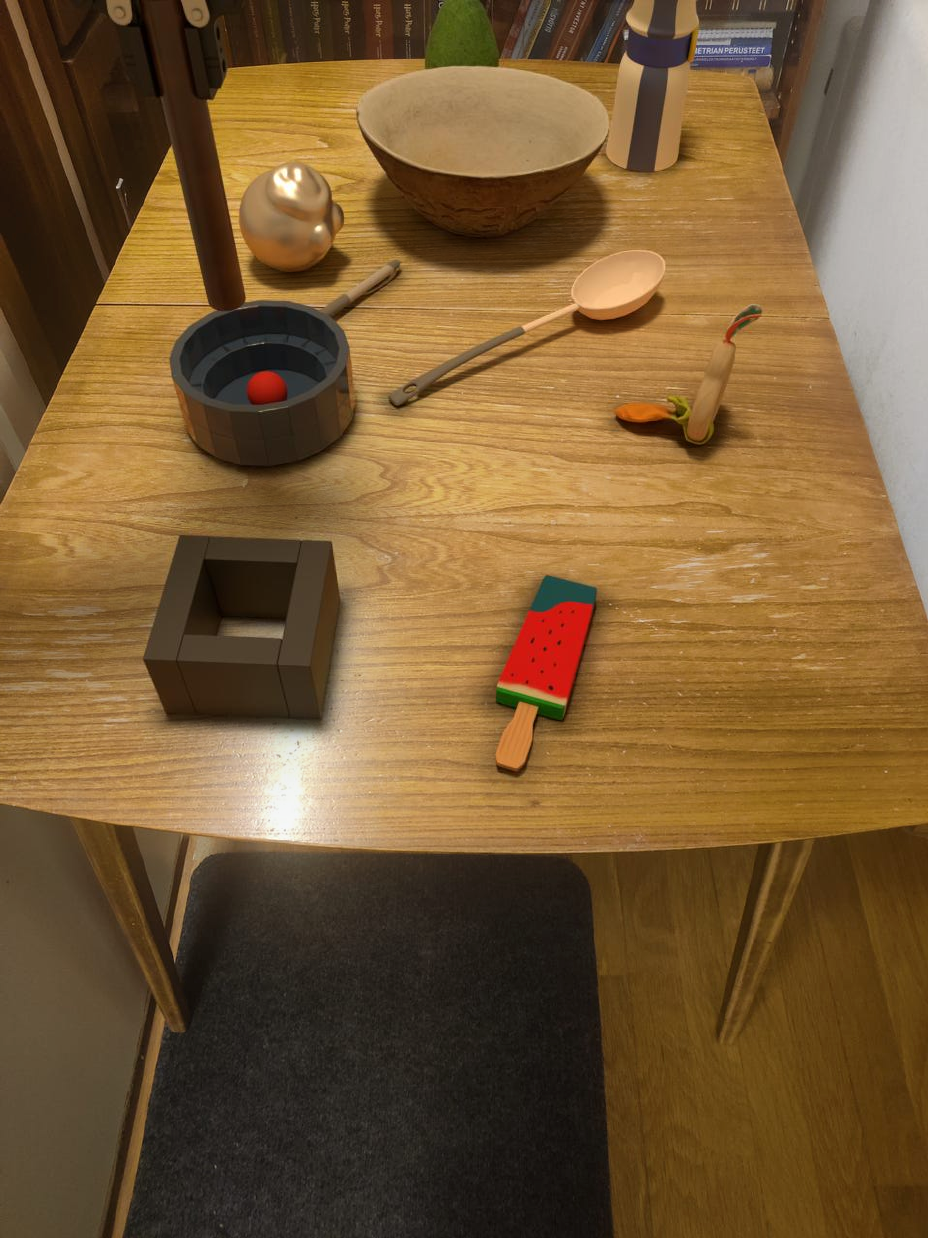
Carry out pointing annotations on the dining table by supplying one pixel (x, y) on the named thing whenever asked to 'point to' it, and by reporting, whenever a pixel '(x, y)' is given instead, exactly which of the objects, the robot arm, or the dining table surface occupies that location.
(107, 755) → the dining table surface
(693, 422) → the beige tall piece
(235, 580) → the holder
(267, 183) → the copper rounded figure
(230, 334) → the dark grey round dish
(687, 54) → the water bottle
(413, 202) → the bowl
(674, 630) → the dining table surface
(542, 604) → the popsicle
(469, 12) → the fruit
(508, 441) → the dining table surface
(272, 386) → the bead
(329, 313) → the pen
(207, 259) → the stick
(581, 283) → the ladle
